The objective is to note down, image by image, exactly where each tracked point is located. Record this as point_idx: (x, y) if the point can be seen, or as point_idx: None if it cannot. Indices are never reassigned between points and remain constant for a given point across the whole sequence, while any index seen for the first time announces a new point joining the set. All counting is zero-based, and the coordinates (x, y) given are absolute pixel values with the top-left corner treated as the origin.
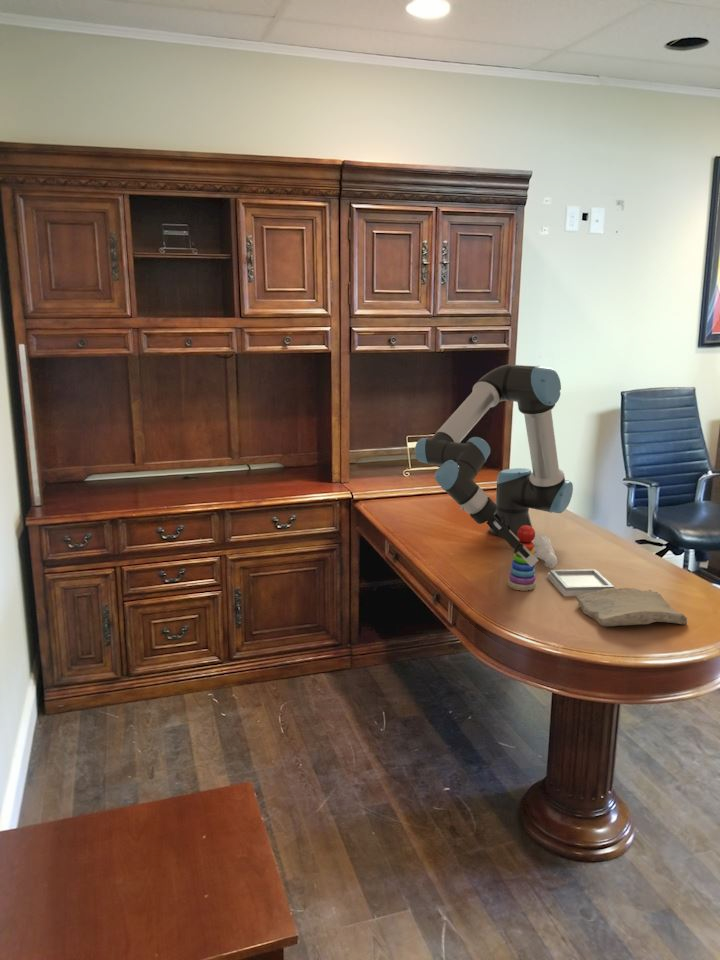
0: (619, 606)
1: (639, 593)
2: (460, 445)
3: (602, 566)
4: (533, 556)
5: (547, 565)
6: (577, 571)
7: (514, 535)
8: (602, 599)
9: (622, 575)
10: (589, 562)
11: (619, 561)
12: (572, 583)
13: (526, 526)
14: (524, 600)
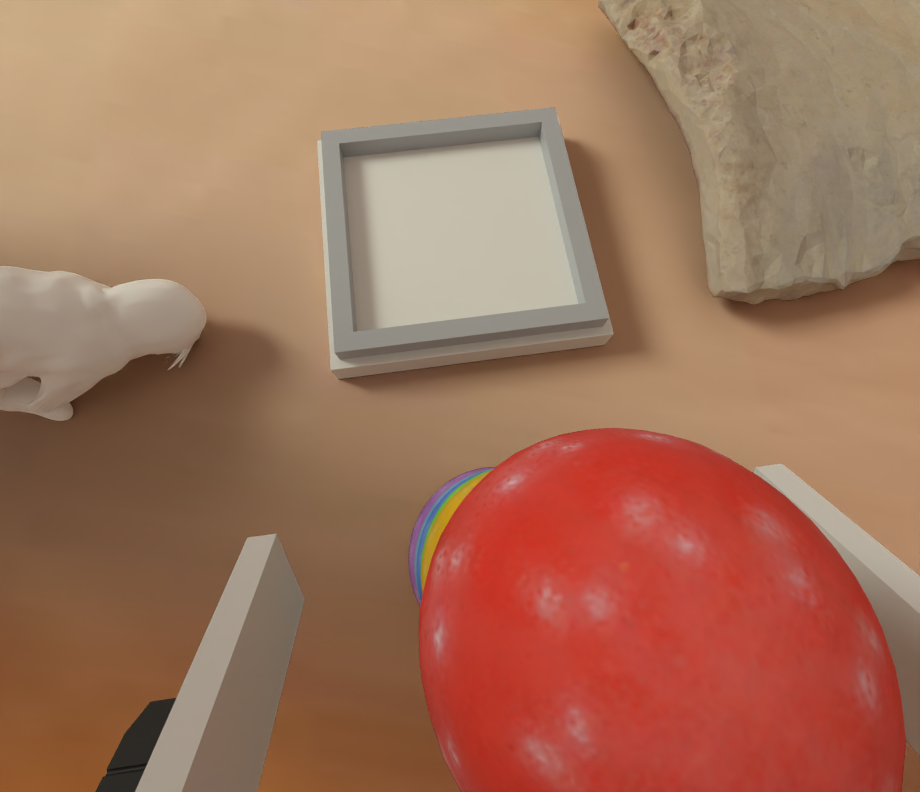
0: (882, 133)
1: (735, 21)
2: None
3: (193, 109)
4: (841, 521)
5: (187, 349)
6: (344, 217)
7: (205, 740)
8: (813, 182)
9: (312, 63)
10: (133, 147)
11: (136, 36)
12: (490, 274)
13: (821, 732)
14: None
